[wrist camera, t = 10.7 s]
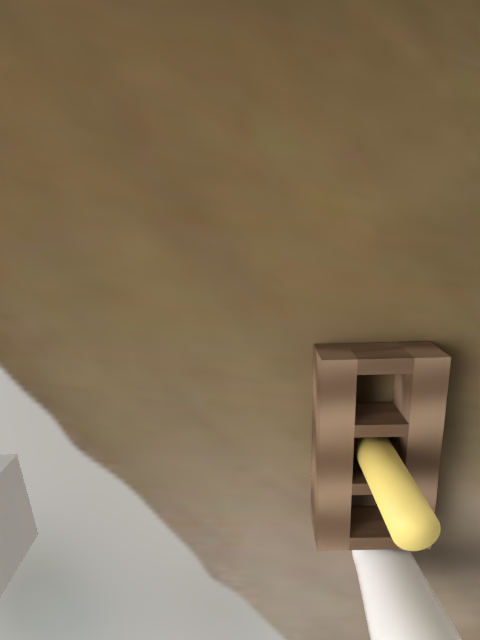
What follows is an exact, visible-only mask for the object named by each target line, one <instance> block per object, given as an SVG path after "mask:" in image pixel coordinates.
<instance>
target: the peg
mask: <svg viewBox="0 0 480 640" xmlns="http://www.w3.org/2000/svg"><path fill="white" fill-rule="evenodd" d="M354 453H355V456H356V458H357V460H358V462H359V465H360V467H361V469H362V471H363V474H364V476H365V478H366V481H367V483H368V485H369V487H370V490H371V492H372V494H373V496H374V499H375V501H376V503H377V505H378V508H379V510H380V512H381V515H382V517H383V519H384V521H385V524H386V526H387V528H388V530H389V533H390V535H391V537H392V539H393V541H394V543H395V544H396V545H397V546H398V547H400V548H402V549H404V550H408V551H419V550H423V549H426V548H428V547H430V546H431V545H432V544H433V543H435V541H436V540H437V539H438V537H439V535H440V531H441V526H440V522H439V520H438V519H437V517H436V515H435V514H434V512H433V510H432V509H431V507H430V506H429V504H428V502H427V501H426V499H425V497H424V496H423V494H422V493H421V491H420V489H419V488H418V486H417V484H416V483H415V481H414V479H413V478H412V476H411V475H410V473H409V471H408V470H407V468H406V466H405V465H404V463H403V462H402V460H401V458H400V457H399V455H398V453H397V452H396V450H395V449H394V447H393V445H392V444H391V442H390V440H389V439H388V437H359V438H354Z"/></svg>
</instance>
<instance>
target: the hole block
mask: <svg viewBox="0 0 480 640" xmlns="http://www.w3.org/2000/svg"><path fill="white" fill-rule="evenodd" d="M450 364H451V357H450V356H449V355H448V354H446V353H445V352H444V351H442V350H441V349H439V348H438V347H437V346H435V345H434V344H433V343H431V342H430V341H416V342H376V343H336V344H314V345H313V410H312V475H311V522H312V527H313V531H314V536H315V541H316V546H317V551H332V550H396V549H402V548H400V547H398V546H397V545H396V544H395V543H394V541H393V539H392V537H391V535H390V533H389V530H388V528H387V526H386V524H385V521H384V519H383V517H382V515H381V512H380V510H379V508H378V506H360V507H351V498H352V495H373V494H372V492H371V490H370V487H369V485H368V483H367V481H366V478H365V476H364V474H363V471H362V469H361V467H360V465H359V462H358V460H357V458H356V457H353V453H354V438H359V437H390V442H391V444H392V445H393V447H394V449H395V450H396V452H397V453H398V455H399V457H400V458H401V460H402V462H403V463H404V465H405V466H406V468H407V470H408V471H409V473H410V475H411V476H412V478H413V479H414V481H415V483H416V484H417V486H418V488H419V489H420V491H421V493H422V494H423V496H424V497H425V499H426V501H427V502H428V504H429V506H430V507H431V509H432V510H433V512H434V514H435V506H436V497H437V487H438V478H439V468H440V459H441V449H442V440H443V430H444V421H445V411H446V402H447V392H448V383H449V373H450ZM381 374H395V378H394V392H393V402H379V403H356V385H357V375H381ZM426 549H431V546H430V547H428V548H426Z"/></svg>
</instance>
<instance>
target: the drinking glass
mask: <svg viewBox="0 0 480 640" xmlns="http://www.w3.org/2000/svg"><path fill="white" fill-rule="evenodd" d="M352 555H353V559H354V563H355V566H356V569H357V574H358V579H359V584H360V589H361V594H362V598H363V604H364V609H365V614H366V619H367V624H368V629H369V634H370V639H371V640H462V638H461V637H460V635H459V633H458V631H457V630H456V628H455V626H454V625H453V623H452V621H451V619H450V618H449V616H448V614H447V613H446V611H445V609H444V608H443V606H442V604H441V603H440V601H439V599H438V598H437V596H436V594H435V593H434V591H433V589H432V588H431V586H430V584H429V582H428V581H427V579H426V577H425V576H424V574H423V572H422V571H421V569H420V567H419V565H418V564H417V562H416V560H415V559H414V557H413V555H412V553H411V551H408V550H404V549H396V550H352Z"/></svg>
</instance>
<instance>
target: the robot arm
mask: <svg viewBox="0 0 480 640" xmlns="http://www.w3.org/2000/svg"><path fill="white" fill-rule="evenodd" d="M37 535H38V532H37V528H36V525H35V521H34V517H33V514H32V509H31V506H30V502H29V498H28V494H27V491H26V487H25V483H24V479H23V475H22V472H21V468H20V464H19V460H18V457H17V454H9V455H0V597H1V595H2V593H3V592H4V590H5V588H6V587H7V585H8V583H9V582H10V580H11V578H12V577H13V575H14V573H15V572H16V570H17V568H18V567H19V565H20V563H21V562H22V560H23V558H24V557H25V555H26V553H27V552H28V550H29V548H30V547H31V545H32V543H33V542H34V540H35V538H36V537H37Z"/></svg>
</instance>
